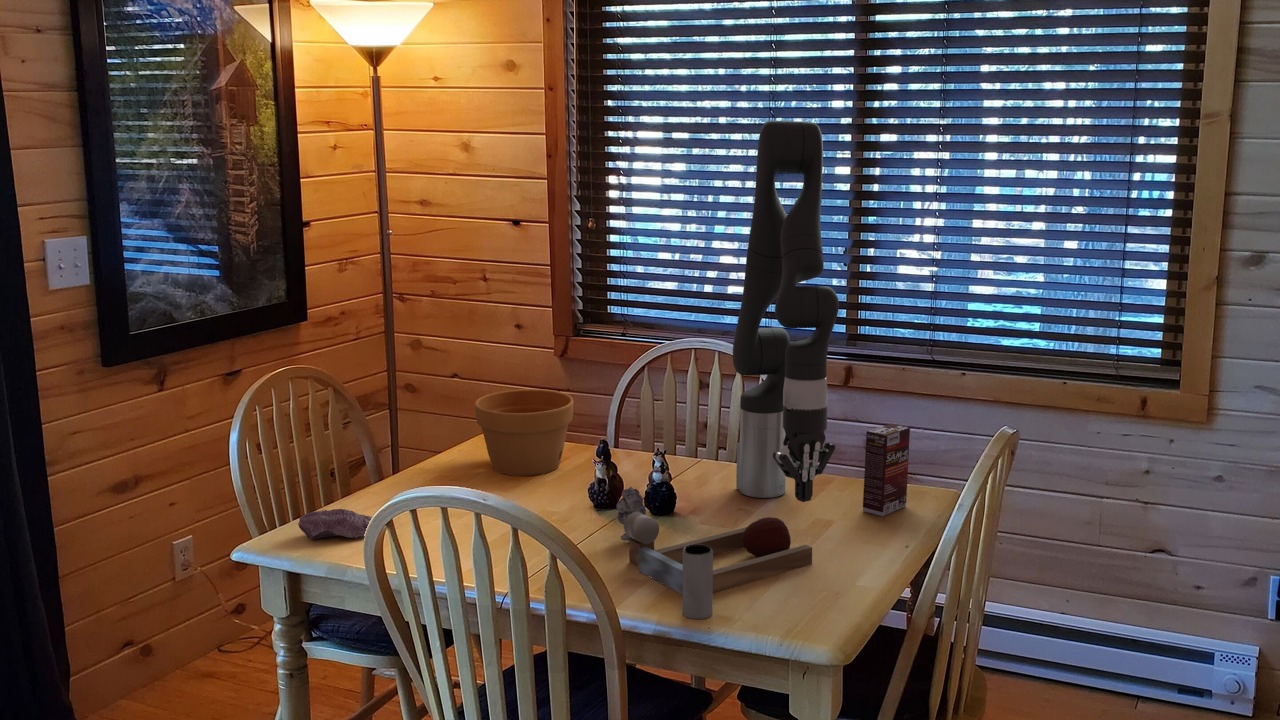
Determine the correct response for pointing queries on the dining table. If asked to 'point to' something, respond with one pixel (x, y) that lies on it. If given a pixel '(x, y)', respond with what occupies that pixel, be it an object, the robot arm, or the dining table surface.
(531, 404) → the flower pot
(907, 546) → the dining table surface
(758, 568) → the bay
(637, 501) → the grey lumpy rock
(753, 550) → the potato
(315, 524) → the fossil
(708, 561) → the grey tube
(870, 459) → the supplement box
